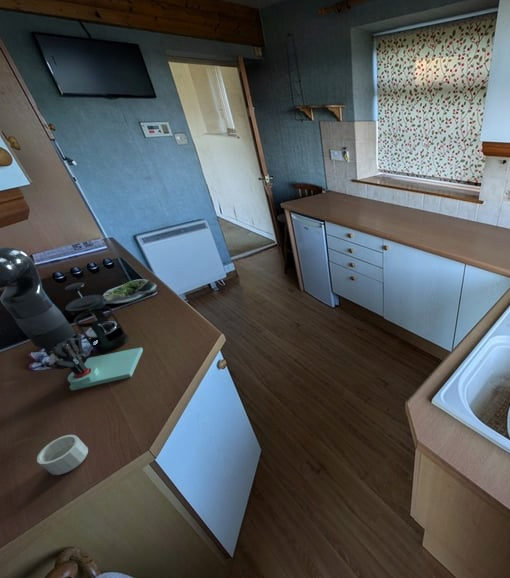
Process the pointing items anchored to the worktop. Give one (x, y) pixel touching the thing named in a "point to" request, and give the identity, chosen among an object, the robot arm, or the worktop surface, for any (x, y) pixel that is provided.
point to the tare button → (82, 374)
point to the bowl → (62, 454)
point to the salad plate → (130, 291)
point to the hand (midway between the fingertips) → (81, 371)
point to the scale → (107, 368)
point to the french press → (97, 321)
